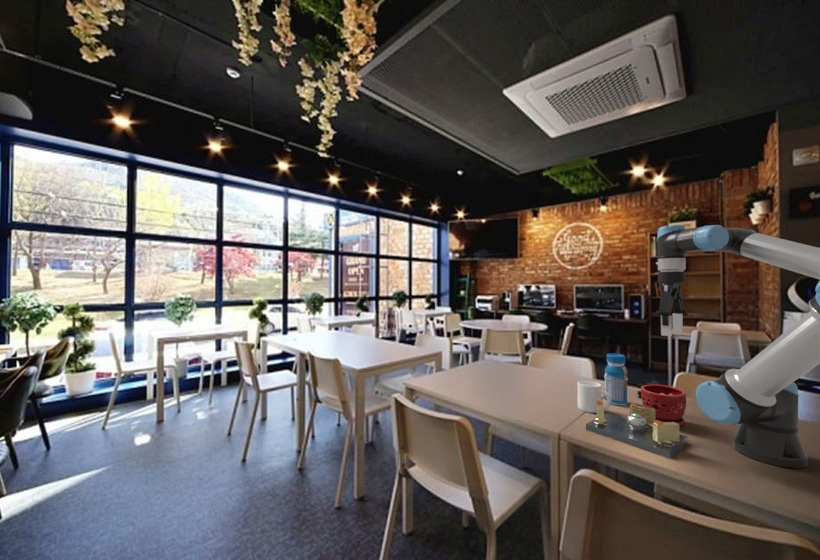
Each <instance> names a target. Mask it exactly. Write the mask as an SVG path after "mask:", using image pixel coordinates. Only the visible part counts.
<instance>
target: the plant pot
mask: <svg viewBox="0 0 820 560" xmlns="http://www.w3.org/2000/svg"><path fill="white" fill-rule="evenodd" d="M640 391H641V397H642V399H641V400H642V401H641V402H642V405H643V406H642V407H651V408H654V409H655V421H660V422H675V423H677V424H679V427H681V426H682V425H684V424H685V419H684V418H683V417H684V415H685V411H686V407H687V393H686V392H685V390H682V389H681V388H678V387H674V386H670V385H663V384H660V385H644V386H642V387H641V389H640ZM653 392H656V393H653Z"/></svg>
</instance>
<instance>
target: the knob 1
mask: <svg viewBox="0 0 820 560" xmlns="http://www.w3.org/2000/svg"><path fill="white" fill-rule="evenodd" d="M603 405H604V402H603V400H601V401H599V400H597V413H596V416H595V417H594V420H595V422H597V423H600V424H605V423H606V419H605V418H604V415H605V409H604V407H603Z"/></svg>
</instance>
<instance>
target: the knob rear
mask: <svg viewBox="0 0 820 560" xmlns="http://www.w3.org/2000/svg"><path fill="white" fill-rule="evenodd" d="M632 413H638V414H640V415H641V416H644V417H645V418H646V426H648V424H649V425H653V421H655V409H654V408H651V407H644V406H640V405H637V404H636V403H630V404H629V414H632Z"/></svg>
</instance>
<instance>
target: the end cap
mask: <svg viewBox="0 0 820 560" xmlns="http://www.w3.org/2000/svg"><path fill="white" fill-rule="evenodd" d="M644 385H661V384H660V382H658V381H656V380H652V381H650V380H644V379H642V380H641V381H640V382H638V383H637V389H639V390H637V398H638V399H641V400H642V397H641V387H642V386H644ZM653 393H656V392H653Z"/></svg>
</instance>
